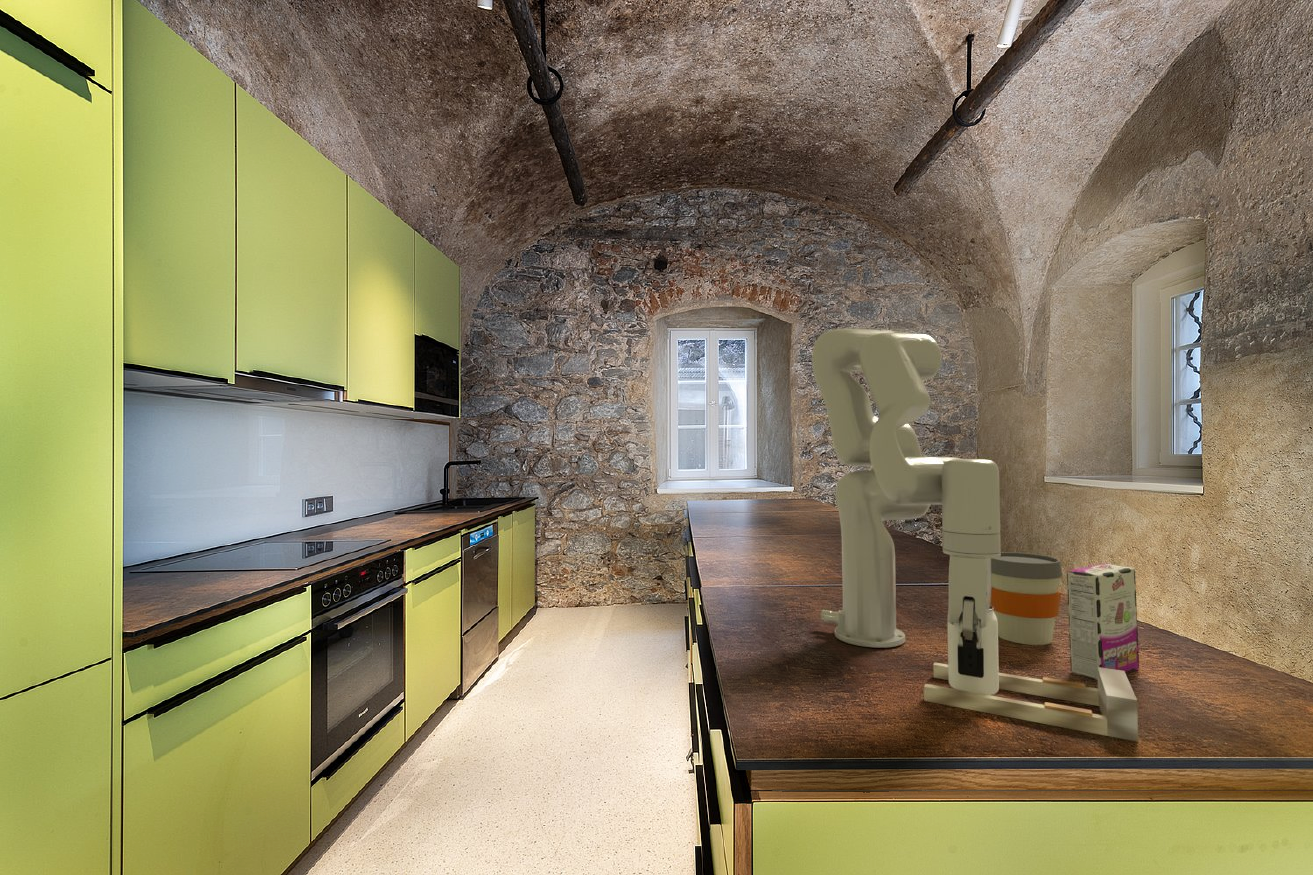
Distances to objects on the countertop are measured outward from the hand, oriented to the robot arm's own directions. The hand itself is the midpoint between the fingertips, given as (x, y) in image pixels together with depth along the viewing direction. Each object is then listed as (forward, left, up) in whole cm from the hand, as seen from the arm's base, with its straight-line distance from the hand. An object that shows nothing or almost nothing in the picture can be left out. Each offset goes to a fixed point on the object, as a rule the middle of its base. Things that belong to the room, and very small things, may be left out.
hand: (973, 666), depth 88 cm
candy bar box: (+17, +21, -4) cm, 27 cm away
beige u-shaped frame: (+5, 0, -4) cm, 7 cm away
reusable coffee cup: (+6, +35, -4) cm, 36 cm away
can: (0, 0, -3) cm, 3 cm away
